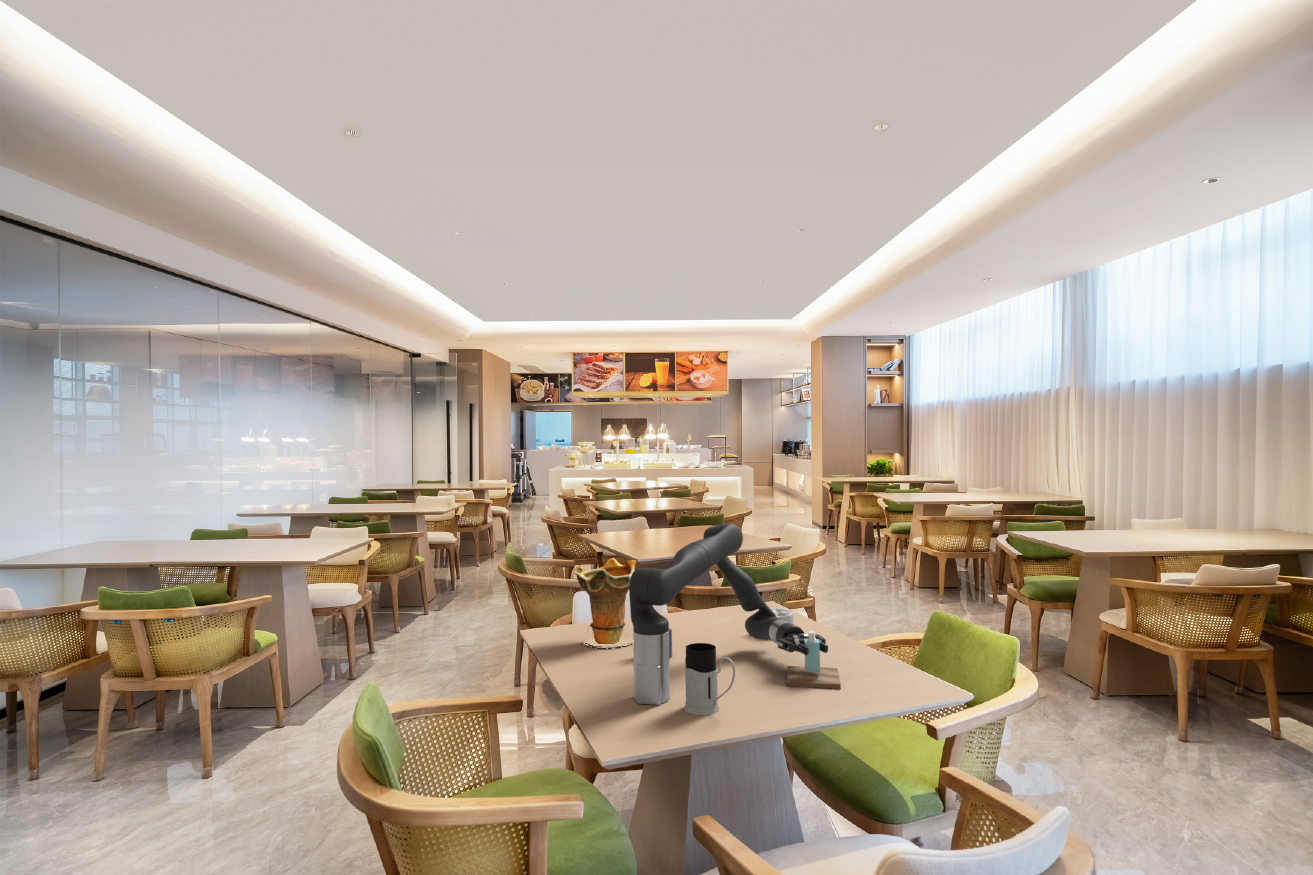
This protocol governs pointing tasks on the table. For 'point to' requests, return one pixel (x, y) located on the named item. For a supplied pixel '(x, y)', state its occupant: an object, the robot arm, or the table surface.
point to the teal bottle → (812, 654)
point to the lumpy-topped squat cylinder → (783, 614)
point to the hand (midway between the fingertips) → (817, 650)
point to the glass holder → (702, 679)
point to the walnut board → (813, 677)
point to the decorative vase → (607, 598)
